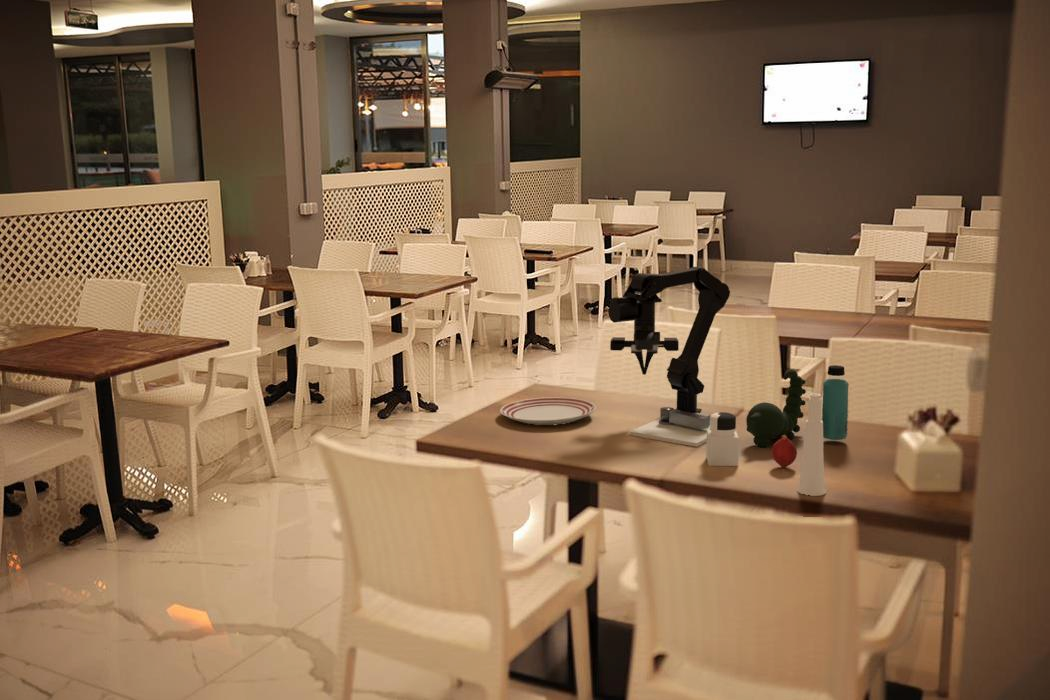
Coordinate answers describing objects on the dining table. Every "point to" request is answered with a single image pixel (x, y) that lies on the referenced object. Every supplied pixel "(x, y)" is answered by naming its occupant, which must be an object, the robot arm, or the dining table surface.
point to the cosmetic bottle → (813, 451)
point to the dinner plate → (548, 410)
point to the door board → (673, 432)
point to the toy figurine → (777, 414)
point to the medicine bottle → (722, 440)
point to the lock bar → (684, 418)
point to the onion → (784, 452)
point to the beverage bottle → (835, 405)
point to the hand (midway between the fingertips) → (644, 374)
